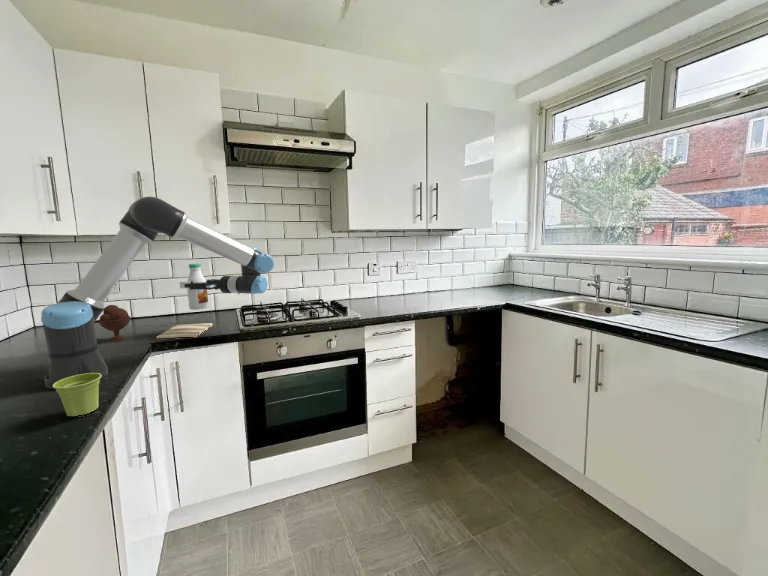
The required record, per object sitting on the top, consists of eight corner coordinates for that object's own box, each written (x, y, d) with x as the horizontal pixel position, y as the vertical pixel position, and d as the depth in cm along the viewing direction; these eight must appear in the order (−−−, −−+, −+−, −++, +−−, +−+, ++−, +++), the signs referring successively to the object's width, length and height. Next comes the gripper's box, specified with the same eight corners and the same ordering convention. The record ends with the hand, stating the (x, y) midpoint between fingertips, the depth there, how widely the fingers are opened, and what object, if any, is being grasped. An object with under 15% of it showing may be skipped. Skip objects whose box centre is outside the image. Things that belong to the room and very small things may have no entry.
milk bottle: (192, 311, 162) (187, 264, 159) (187, 308, 168) (182, 263, 165) (210, 308, 167) (206, 263, 164) (205, 305, 173) (201, 262, 170)
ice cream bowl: (96, 345, 152) (91, 308, 149) (108, 337, 162) (103, 303, 160) (126, 342, 155) (121, 306, 152) (136, 335, 165) (132, 301, 163)
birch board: (196, 337, 159) (196, 334, 159) (156, 339, 157) (156, 336, 157) (212, 325, 179) (212, 323, 179) (177, 327, 177) (176, 324, 177)
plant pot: (49, 418, 91) (43, 384, 90) (91, 401, 100) (86, 370, 98) (74, 424, 88) (68, 389, 86) (115, 406, 96) (110, 374, 95)
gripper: (217, 297, 152) (170, 296, 158) (246, 289, 172) (204, 288, 177) (215, 278, 151) (168, 278, 157) (245, 273, 170) (202, 272, 176)
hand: (187, 283), depth 167 cm, fingers closed on milk bottle, 7 cm apart
